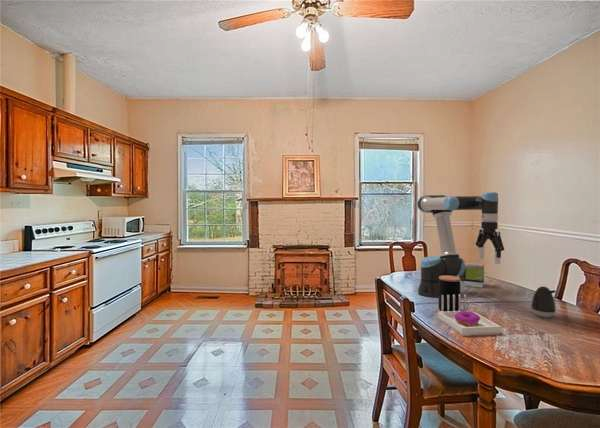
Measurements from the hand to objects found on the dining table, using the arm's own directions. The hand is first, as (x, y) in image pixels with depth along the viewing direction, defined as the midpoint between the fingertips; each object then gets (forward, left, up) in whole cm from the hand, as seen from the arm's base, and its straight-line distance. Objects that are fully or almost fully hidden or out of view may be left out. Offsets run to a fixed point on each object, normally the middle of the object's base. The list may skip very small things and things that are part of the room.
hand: (488, 261), depth 181 cm
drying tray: (+19, -23, -27) cm, 40 cm away
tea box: (-53, +23, -27) cm, 64 cm away
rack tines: (+7, -23, -27) cm, 36 cm away
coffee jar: (-3, -20, -27) cm, 34 cm away
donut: (+19, -23, -25) cm, 39 cm away
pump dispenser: (+10, +23, -27) cm, 37 cm away
